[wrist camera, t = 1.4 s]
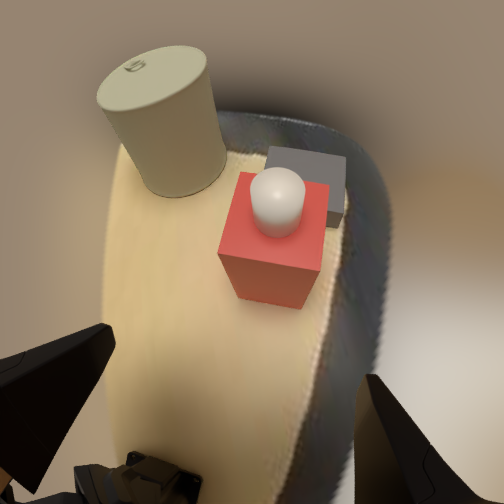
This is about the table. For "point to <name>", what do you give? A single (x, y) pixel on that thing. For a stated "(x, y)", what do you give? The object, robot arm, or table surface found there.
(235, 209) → the ketchup bottle
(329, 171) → the grey box
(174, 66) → the can
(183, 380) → the table surface
